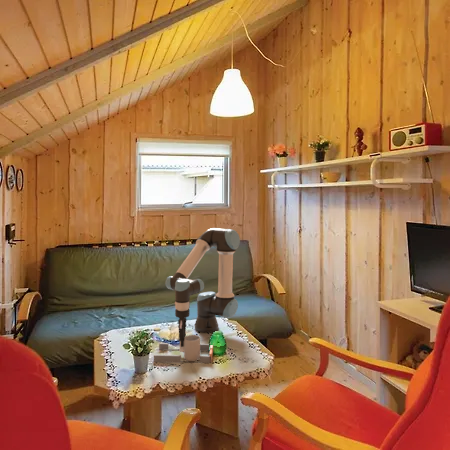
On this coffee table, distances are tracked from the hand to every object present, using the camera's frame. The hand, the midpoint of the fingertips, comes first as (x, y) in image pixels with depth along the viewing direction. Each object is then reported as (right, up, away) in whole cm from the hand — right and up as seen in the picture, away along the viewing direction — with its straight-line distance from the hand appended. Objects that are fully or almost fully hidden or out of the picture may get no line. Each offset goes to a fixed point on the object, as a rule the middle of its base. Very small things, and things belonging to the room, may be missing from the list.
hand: (182, 351), depth 217 cm
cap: (+16, +2, -1) cm, 16 cm away
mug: (+5, -3, 0) cm, 6 cm away
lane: (+1, -2, 0) cm, 3 cm away
